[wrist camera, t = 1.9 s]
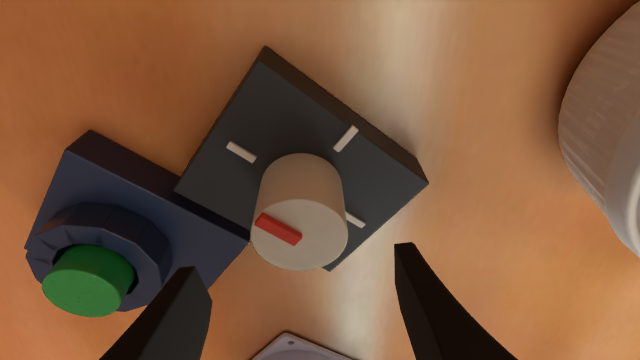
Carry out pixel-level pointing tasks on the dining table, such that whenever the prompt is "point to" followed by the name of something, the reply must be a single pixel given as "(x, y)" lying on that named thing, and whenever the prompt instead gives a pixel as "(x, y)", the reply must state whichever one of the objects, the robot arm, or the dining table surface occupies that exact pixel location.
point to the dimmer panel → (298, 151)
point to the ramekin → (608, 126)
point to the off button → (89, 281)
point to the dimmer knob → (300, 214)
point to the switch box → (129, 219)
